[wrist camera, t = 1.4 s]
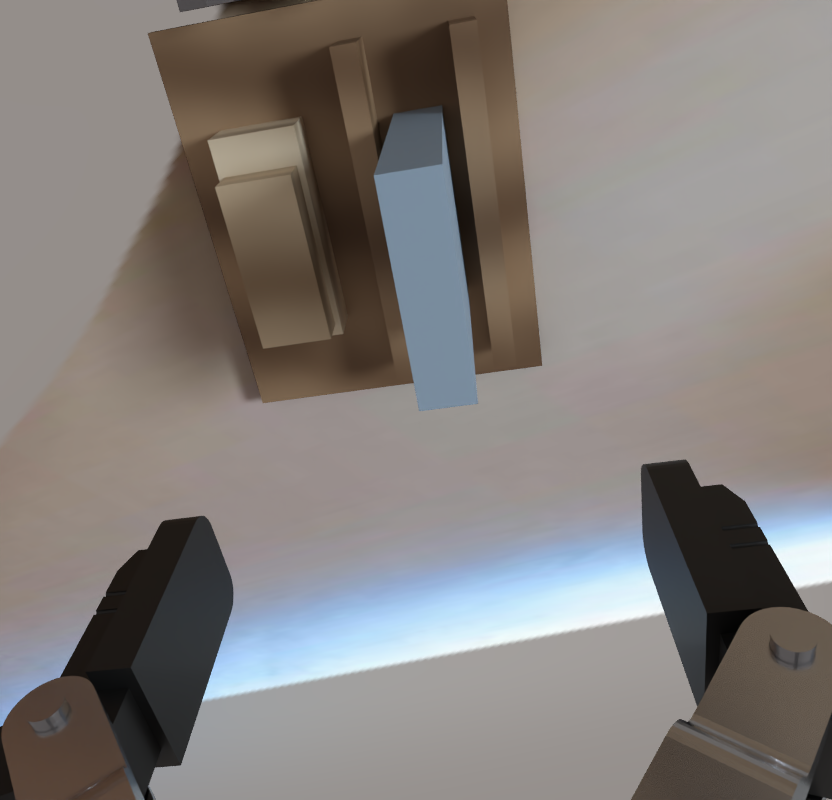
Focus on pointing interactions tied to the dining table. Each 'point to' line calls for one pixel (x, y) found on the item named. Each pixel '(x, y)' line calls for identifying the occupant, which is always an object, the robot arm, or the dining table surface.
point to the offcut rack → (367, 164)
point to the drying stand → (199, 4)
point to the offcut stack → (279, 231)
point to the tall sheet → (427, 257)
